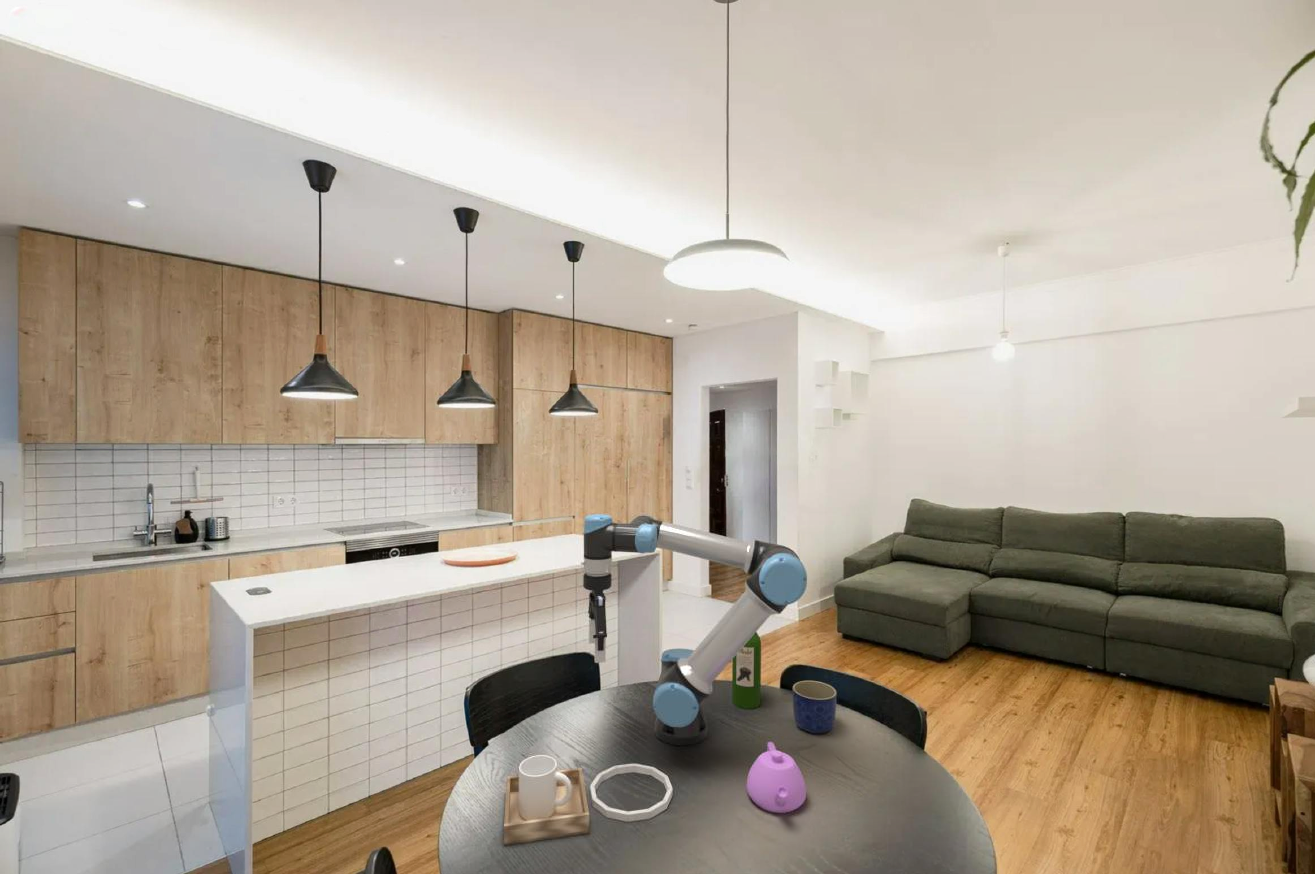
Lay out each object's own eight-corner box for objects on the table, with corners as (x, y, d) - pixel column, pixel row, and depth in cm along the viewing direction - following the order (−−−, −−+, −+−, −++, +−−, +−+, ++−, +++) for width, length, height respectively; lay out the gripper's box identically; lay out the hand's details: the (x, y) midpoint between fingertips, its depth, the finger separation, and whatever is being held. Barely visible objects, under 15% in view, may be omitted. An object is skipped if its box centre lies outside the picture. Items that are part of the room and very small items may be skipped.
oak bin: (581, 783, 141) (581, 767, 141) (589, 833, 124) (589, 814, 124) (506, 793, 138) (506, 776, 137) (504, 845, 120) (504, 826, 120)
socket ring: (661, 766, 149) (661, 760, 149) (680, 814, 131) (680, 807, 131) (586, 775, 145) (586, 769, 145) (596, 826, 126) (596, 819, 126)
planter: (801, 712, 179) (802, 676, 179) (842, 724, 172) (842, 687, 171) (785, 728, 169) (785, 691, 169) (827, 742, 162) (827, 703, 161)
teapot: (751, 827, 127) (752, 779, 127) (742, 773, 147) (743, 731, 147) (815, 830, 126) (816, 781, 126) (797, 775, 146) (798, 733, 146)
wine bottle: (731, 707, 181) (732, 603, 181) (732, 695, 190) (733, 595, 189) (760, 710, 180) (761, 605, 179) (760, 697, 188) (761, 597, 188)
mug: (576, 802, 133) (577, 758, 133) (566, 826, 125) (566, 779, 125) (526, 797, 135) (527, 753, 135) (512, 821, 127) (513, 774, 127)
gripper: (579, 562, 167) (578, 636, 167) (588, 585, 142) (587, 672, 143) (605, 561, 168) (604, 634, 169) (618, 584, 144) (617, 669, 144)
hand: (596, 652), depth 156 cm, fingers open, 13 cm apart
